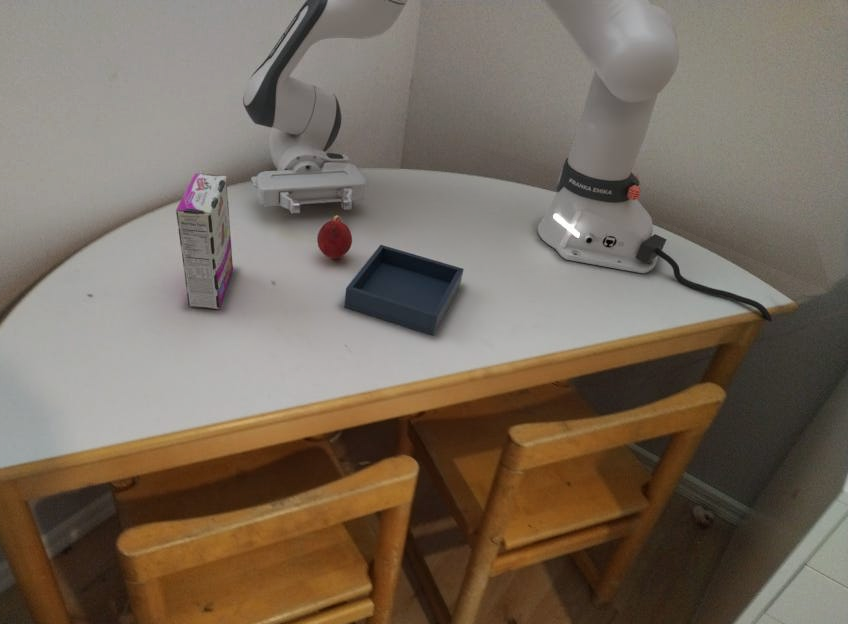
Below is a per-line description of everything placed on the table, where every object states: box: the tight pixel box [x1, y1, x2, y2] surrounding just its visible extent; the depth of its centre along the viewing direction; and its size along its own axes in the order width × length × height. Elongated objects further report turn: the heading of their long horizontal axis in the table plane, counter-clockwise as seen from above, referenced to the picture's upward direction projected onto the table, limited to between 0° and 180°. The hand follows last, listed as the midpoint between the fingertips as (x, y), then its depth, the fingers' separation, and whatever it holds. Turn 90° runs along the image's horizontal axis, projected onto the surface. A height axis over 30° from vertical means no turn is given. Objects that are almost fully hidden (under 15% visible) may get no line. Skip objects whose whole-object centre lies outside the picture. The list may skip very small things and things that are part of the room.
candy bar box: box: [175, 173, 234, 310], centre depth 94 cm, size 11×5×16 cm, turn 179°
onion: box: [316, 214, 353, 260], centre depth 106 cm, size 6×6×8 cm
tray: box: [344, 244, 464, 336], centre depth 101 cm, size 15×15×4 cm
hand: (322, 207), depth 112 cm, fingers open, 8 cm apart
